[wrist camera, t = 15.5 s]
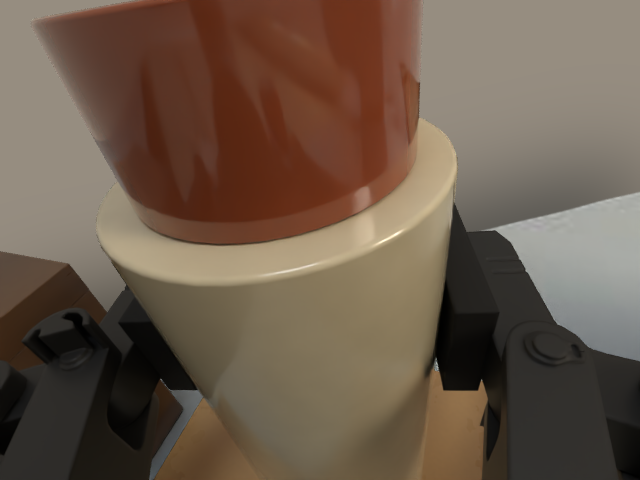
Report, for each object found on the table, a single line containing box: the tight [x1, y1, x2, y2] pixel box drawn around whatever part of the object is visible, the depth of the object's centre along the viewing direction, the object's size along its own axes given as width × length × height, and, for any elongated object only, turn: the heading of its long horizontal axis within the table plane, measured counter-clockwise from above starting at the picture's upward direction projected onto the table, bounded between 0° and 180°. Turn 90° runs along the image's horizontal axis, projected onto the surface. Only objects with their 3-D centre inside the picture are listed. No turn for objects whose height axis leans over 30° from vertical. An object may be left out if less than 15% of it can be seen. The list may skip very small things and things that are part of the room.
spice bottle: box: [31, 0, 458, 480], centre depth 9 cm, size 6×6×14 cm
